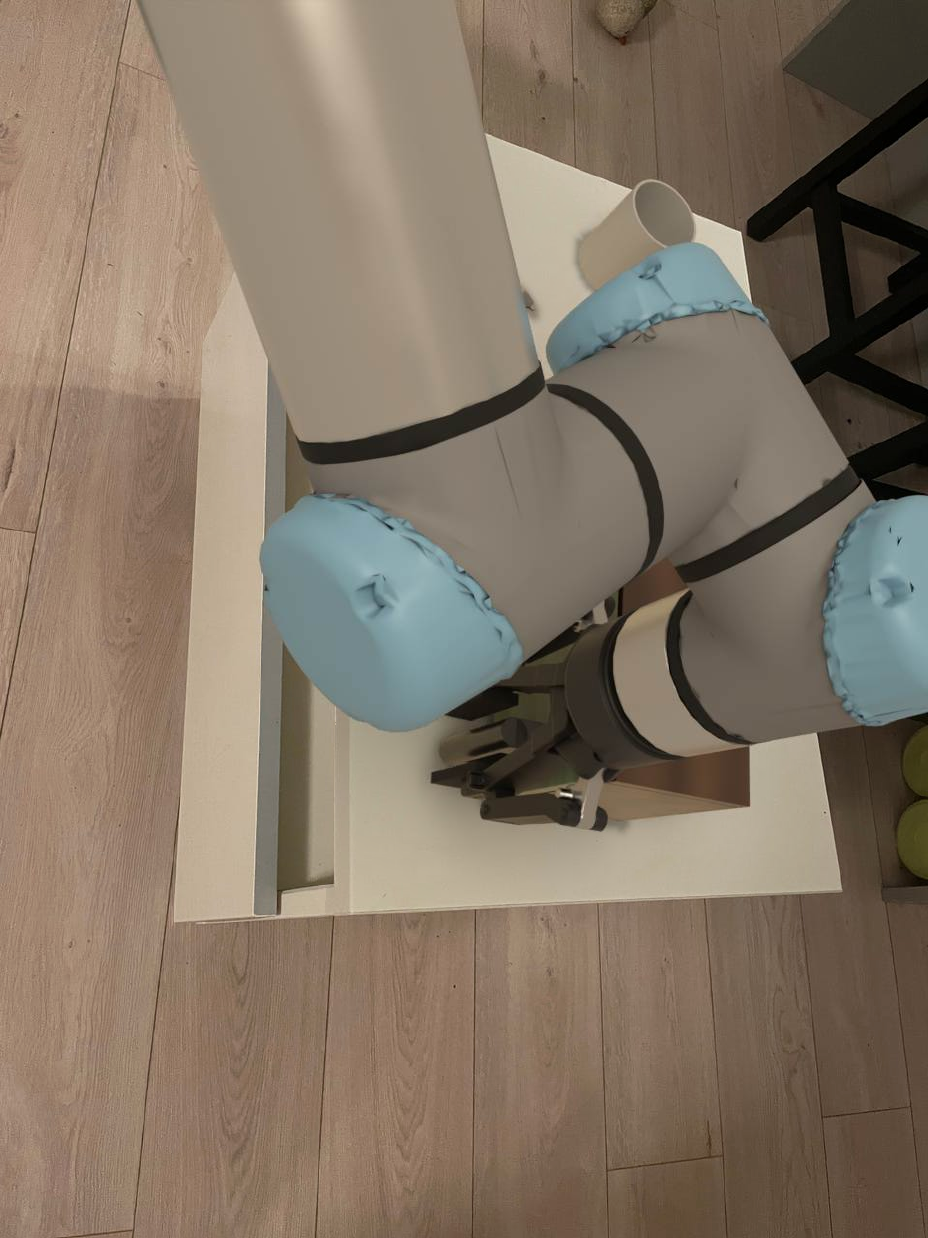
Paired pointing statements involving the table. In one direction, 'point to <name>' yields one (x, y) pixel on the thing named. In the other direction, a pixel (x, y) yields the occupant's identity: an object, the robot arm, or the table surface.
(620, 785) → the cupboard
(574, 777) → the cupboard door
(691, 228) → the cup
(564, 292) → the table surface
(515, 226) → the table surface
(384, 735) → the table surface
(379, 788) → the table surface
